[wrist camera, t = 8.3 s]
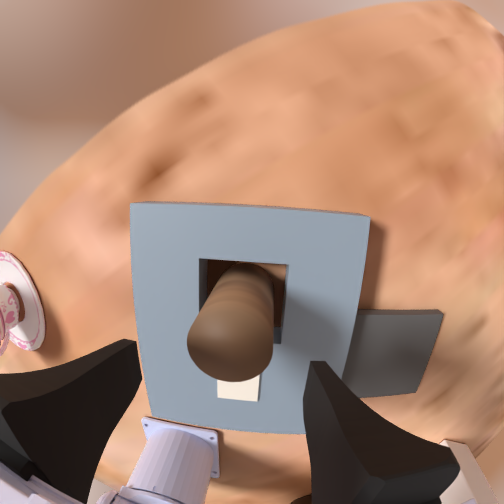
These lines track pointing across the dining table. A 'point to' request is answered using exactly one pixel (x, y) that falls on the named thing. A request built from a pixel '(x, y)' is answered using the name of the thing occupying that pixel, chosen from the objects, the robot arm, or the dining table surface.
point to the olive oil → (303, 500)
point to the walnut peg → (235, 326)
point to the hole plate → (195, 295)
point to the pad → (390, 351)
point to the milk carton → (467, 479)
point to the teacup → (7, 307)
